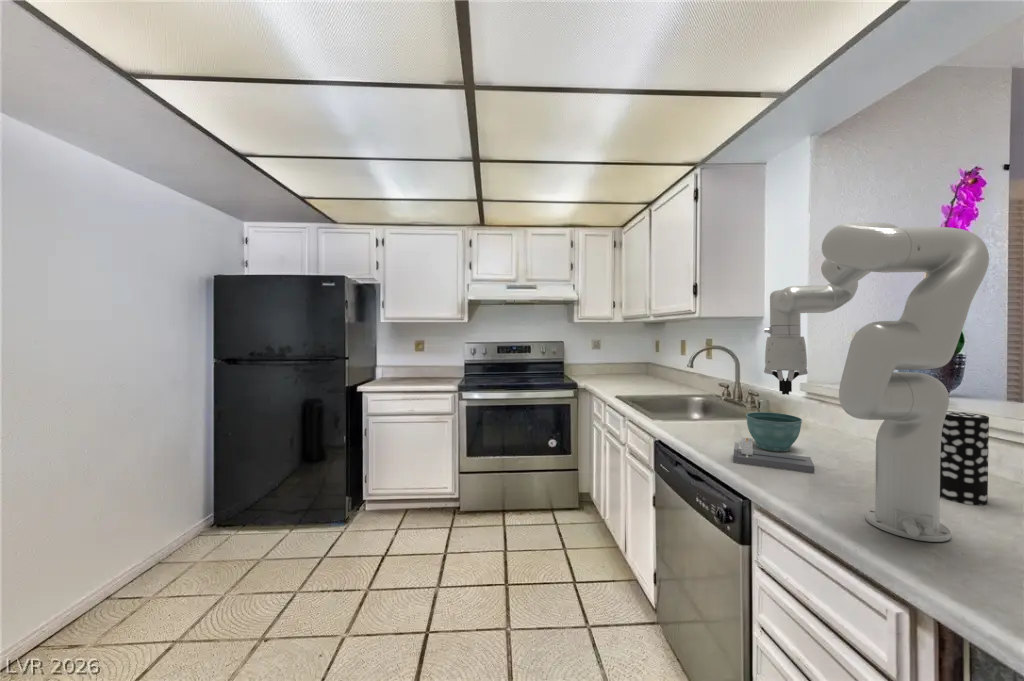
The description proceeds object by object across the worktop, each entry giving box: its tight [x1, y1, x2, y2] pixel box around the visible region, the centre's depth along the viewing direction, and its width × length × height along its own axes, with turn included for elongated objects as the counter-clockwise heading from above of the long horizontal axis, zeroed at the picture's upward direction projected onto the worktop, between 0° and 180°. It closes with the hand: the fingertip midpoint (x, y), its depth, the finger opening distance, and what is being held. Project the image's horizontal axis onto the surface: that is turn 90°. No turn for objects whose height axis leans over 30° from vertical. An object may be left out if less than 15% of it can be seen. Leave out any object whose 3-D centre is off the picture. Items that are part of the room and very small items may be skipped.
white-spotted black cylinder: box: [940, 410, 990, 506], centre depth 99 cm, size 8×8×20 cm
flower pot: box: [745, 411, 803, 453], centre depth 141 cm, size 16×16×11 cm
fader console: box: [733, 442, 815, 474], centre depth 126 cm, size 10×20×4 cm, turn 60°
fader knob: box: [740, 437, 754, 455], centre depth 129 cm, size 5×3×4 cm, turn 150°
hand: (785, 393), depth 122 cm, fingers closed
